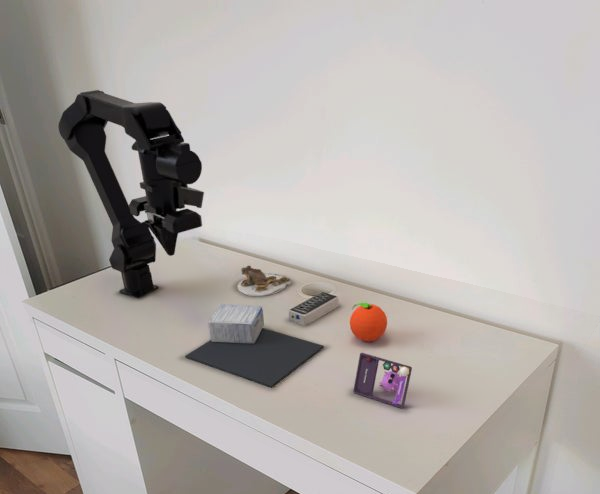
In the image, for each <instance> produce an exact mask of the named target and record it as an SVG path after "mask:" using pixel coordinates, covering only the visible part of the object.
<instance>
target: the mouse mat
mask: <svg viewBox="0 0 600 494" xmlns="http://www.w3.org/2000/svg"><path fill="white" fill-rule="evenodd" d="M324 347H325V346H324V344H323V345H322V344H319V343H316V342H313V341H309V340H306V339H302V338H299V337H296V336H291V335H288V334H285V333H281V332H279V331H274V330H271V329H268V328H264V327H263V328H262V330H261V332H260V334H259V336H258V337H257V339H256V341H255V343H254V344H249V343H227V342H212V341H211V339H210V340H209V341H207V342H205V343H204V344H202V345H200V346H198V347H197V348H195V349H194V350H192V351H190V352H189V353H187V354H186V355H185V356H184V357H185V358H186V359H188V360H192V361H194V362H197V363H200V364H203V365H205V366H208V367H211V368H214V369H217V370H220V371H222V372H226V373H228V374H231V375H234V376H237V377H240V378H242V379H245V380H248V381H251V382H254V383H257V384H259V385H262V386H265V387H268V388H273V387H275V386H276V385H277V384H278V383H280V382H282V380H283V379H285V378H286V377H287V376H289V375H290V374H291V373H292V372H294V371H295V370H297V369H298V368H299V367H300V366H301V365H303V364H304V363H306V362H307V361H309V360H310V359H311V358H312V357H314V356H315V355H316V354H318V352H320V351H321V350H323V349H324Z"/></svg>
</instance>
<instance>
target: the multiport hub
mask: <svg viewBox="0 0 600 494" xmlns="http://www.w3.org/2000/svg"><path fill="white" fill-rule="evenodd" d="M337 308H339V296H337V295H335V294H333V293H329V292H326V291H325V292H324V291H321V292H319V293H317V294H315V295H313V296H311V297H310V298H308V299H306V300H304V301H302V302H300V303H299V304H297V305H295V306H292V307H291V308H290V309H288V316H289V317H288V318H289V322H291V323H295V324H298V325H301V326H304V327H305V326H308V325H310V324H311V323H313V322H315V321H316V320H318V319H320V318H322V317H323V316H325V315H327V314H329V313H331V312H332V311H334V310H336V309H337Z"/></svg>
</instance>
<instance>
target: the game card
mask: <svg viewBox="0 0 600 494" xmlns="http://www.w3.org/2000/svg"><path fill="white" fill-rule="evenodd" d="M380 361H381V362H383V363H382V367H383V370H385V371H384V374H383V377H382V381H381V382H379V387H382V388H383V390H385V391H386V392H388V393H392V392H393V393H394V392H396V394H395V398H394V399H393V401H391V400H387V399H384V398H382V397H378V396H375V395H373V394H374V388H375V383H376V379H377V373H378V368H379V364H380V363H379V362H380ZM390 370H391V371H390ZM412 370H413V367H412V366H409V365H407V364H403V363H400V362H396V361H393V360H390V359H385V358H382V357H379V356H375V355H372V354H368V353H365V352H360V353H359V358H358V362H357V368H356V374H355V378H354V383H353V384H354V385H353V391H352V392H353V394H357V395H360V396H363V397H366V398H369V399H372V400H375V401H378V402H381V403H384V404H387V405H390V406H394V407H397V408H399V409H403V408H405V405H406V399H407V395H408V390H409V385H410V380H411V376H412ZM400 402H401V403H400Z"/></svg>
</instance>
